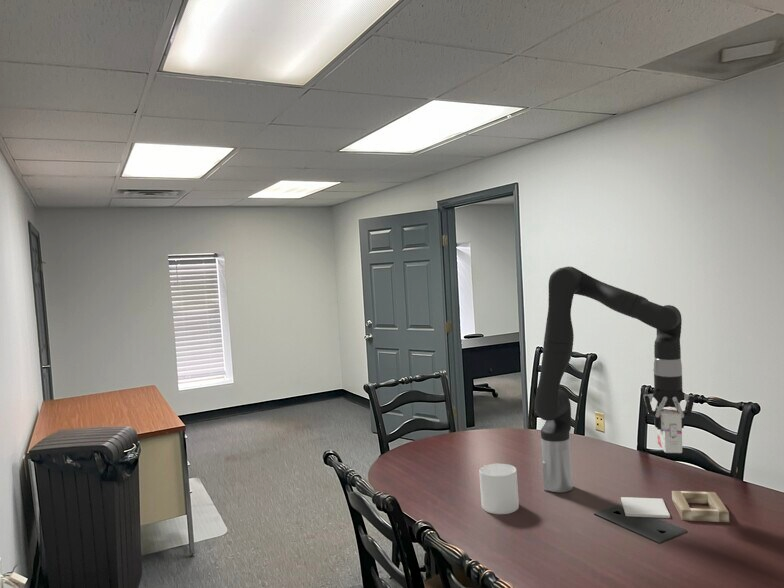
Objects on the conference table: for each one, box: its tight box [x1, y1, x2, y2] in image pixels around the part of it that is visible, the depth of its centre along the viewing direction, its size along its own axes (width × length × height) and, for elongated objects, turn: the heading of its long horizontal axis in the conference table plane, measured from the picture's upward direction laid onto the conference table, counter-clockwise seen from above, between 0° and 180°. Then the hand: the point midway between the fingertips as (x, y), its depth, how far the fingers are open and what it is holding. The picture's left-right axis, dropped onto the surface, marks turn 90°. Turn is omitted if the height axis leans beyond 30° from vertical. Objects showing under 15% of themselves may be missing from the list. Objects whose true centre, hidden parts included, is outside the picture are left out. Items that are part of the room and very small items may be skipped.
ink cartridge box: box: [657, 402, 683, 454], centre depth 169 cm, size 9×5×15 cm, turn 169°
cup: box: [478, 462, 520, 515], centre depth 180 cm, size 12×12×12 cm
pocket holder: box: [671, 490, 730, 523], centre depth 167 cm, size 12×14×3 cm
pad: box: [620, 496, 671, 519], centre depth 171 cm, size 12×12×1 cm
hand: (669, 428), depth 169 cm, fingers closed on ink cartridge box, 5 cm apart
